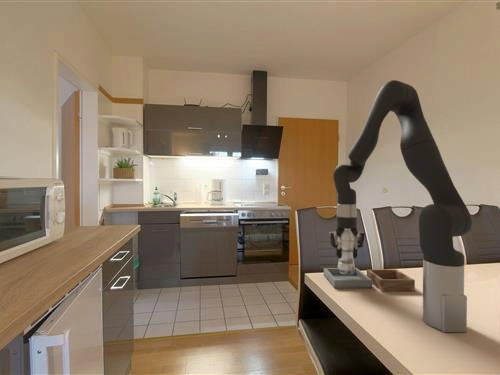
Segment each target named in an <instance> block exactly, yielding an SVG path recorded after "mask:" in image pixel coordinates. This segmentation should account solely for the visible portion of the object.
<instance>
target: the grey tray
mask: <svg viewBox="0 0 500 375" xmlns="http://www.w3.org/2000/svg"><path fill="white" fill-rule="evenodd" d="M323 276H324V278H325V279H326V280H327V281H328V282H329V284H330V285H331V286H332V288H334V289H372V288H373V284H372V280H371V279H370V278H369V277H368V276H367V274H365V273H364V272H363V271H361V270H360V269H359V268H358V267H355V271H354V273H353V274H352V275H345V274H341V273H340V272H339V271H338V267H328V268H327V267H324V268H323Z"/></svg>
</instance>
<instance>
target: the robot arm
mask: <svg viewBox="0 0 500 375" xmlns="http://www.w3.org/2000/svg"><path fill="white" fill-rule="evenodd" d="M390 112H393V113H394V114H395V115H396V117H397V119H398V122H399V124H400V127H401V137H400V144H399V146H400V152H401V155H402V158H403V161H404V164H405V166H406V168H407V169H408V170H409V172H410V173H411V175H412V176H413V177H414V178H415V179H416V180H417V181H418V182H419V183H420V184H421V185H422V186H423V187H424V188H425V189H426V191H427V192H428V194H429V196H430V198H431V200H432V202H433V203H431V204H428V205H425V206H424V207H423V208H422V209H421V211H420V213H419V217H418V233H419V245H420V246H419V247H420V249H421V252H422V258H423V259H422V320H423V322H424V323H426V324H427V325H428V326H430V327H432V328H434V329H436V330H439V331H441V332H443V333H467V330H468V329H467V327H468V324H467V322H468V320H467V318H468V316H467V314H468V313H467V312H468V305H467V304H468V297H467V295H466V294H465V255H464V254H463V252H461V251H459V250H457V249H455V247H454V238H456V237H461V236H465V235H467V234H468V233H469V232H470V231H471V228H472V226H473V225H472V224H473V221H472V216H471V214H470V211H469V209H468V207H467V205H466V203H465V202H464V199H462V196H461V195H460V193H459V192H458V190H457V188H456V187H455V185H454V182H453V180H452V178H451V176H450V174H449V173H450V172H449V171H448V168H447V166H446V164H445V161H444V160H443V157H442V154H441V152H440V149H439V147H438V145H437V143H436V141H435V138H434V136H433V134H432V132H431V129H430V127H429V125H428V123H427V121H426V119H425V118H426V117H425V116H424V112H423V109H422V104H421V101H420V98H419V94H418V91H417V89H416V88H415V87H413V86H412V85H410V84H408V83H406V82H403V81H399V80H396V79H393V80H389V81H387V82H385V83H384V84H383V85H382V87H381V88H380V90H379V91H378V93H377V94H376V96H375V99H374V101H373V103H372V107H371V108H370V111H369V113H368V116H367V118H366V120H365V123H364V126H363V127H362V130H361V131H360V134H359V135H358V137H357V138H356V141H355V142H354V143H353V145H352V147H351V149H350V150H349V152H348V155H347V157H348V159H349V160H350V162H349V164H339V165H336V167H335V168H334V170H333V174H332V175H333V176H332V178H333V182H334V186H335V190H336V194H337V200H336V201H337V204H336V206H337V207H336V213H335V214H336V229H335V230H334V231H328V237H329V242H330V246H331V247H332V248H335V256H336V257H337V258H338V259H339V258H341V249H340V248H341V244H342V240H340V241H339V240H338V239H336V241H335V238H336V236H337V237H338V236H339V237H340V236H341V234H342V233H343V231H344V230H345V229H351V231H352V232H353V233H352V234H354V236H355V238H356V237H358V239H357V241H356V239H355V242H354V251H353V257H354V259H356V258H358V249H360V248H363V247H364V240H365V237H366V233H365V232H364V231H358V207H357V192H356V190H355V189H354V188H351V184H350V183H355V182H357V181H358V180H359V179H360V178H361V176H362V174H363V172H364V169H365V166H366V163H367V161H368V159H369V158H370V157H371V155H372V154H373V153H374V150H375V149H376V146H377V144H378V141H379V136H380V131H381V127H382V124H383V122H384V120H385V118H386V117H387V115H388V114H389V113H390ZM344 228H345V229H344ZM344 234H345V233H344ZM344 234H343V235H344Z"/></svg>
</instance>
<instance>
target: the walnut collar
mask: <svg viewBox="0 0 500 375" xmlns="http://www.w3.org/2000/svg"><path fill="white" fill-rule="evenodd" d="M366 276H368V277H369V278H370V279H371V280H372V286H374V285H375V286H376V287H375V286H374V287H375V288H377V289H378V290H379V289H380V290H381V291H380V290H379V291H380V292H416V288H415V287H416V280H415V279H414V278H412V277H411V276H408V275H407V274H405V273H403V272H401V271H400V270H398V269H395V268H394V269H393V268H392V269H390V268H389V269H387V268H386V269H380V268H379V269H373V268H372V269H366Z"/></svg>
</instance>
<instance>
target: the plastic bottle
mask: <svg viewBox="0 0 500 375" xmlns="http://www.w3.org/2000/svg"><path fill="white" fill-rule="evenodd" d="M344 229H345V228H344ZM344 233H345V234H344ZM352 233H353V232H352V231H351V229H345V230H344V231H343V233H342V234H341V236H340V237H339V236H337V237H338V238H337V240H339V241H340V240H342V244H341V248H340V249H341V258H338V262H337V268H338V271H339V272H340V273H341V274H345V275H352V274H353V273H354V271H355V268H356V267H355V260H354V259H355V258H354V257H353V251H354V242H355V240H356V237H355V236H354V234H352ZM343 234H344V235H343Z"/></svg>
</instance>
